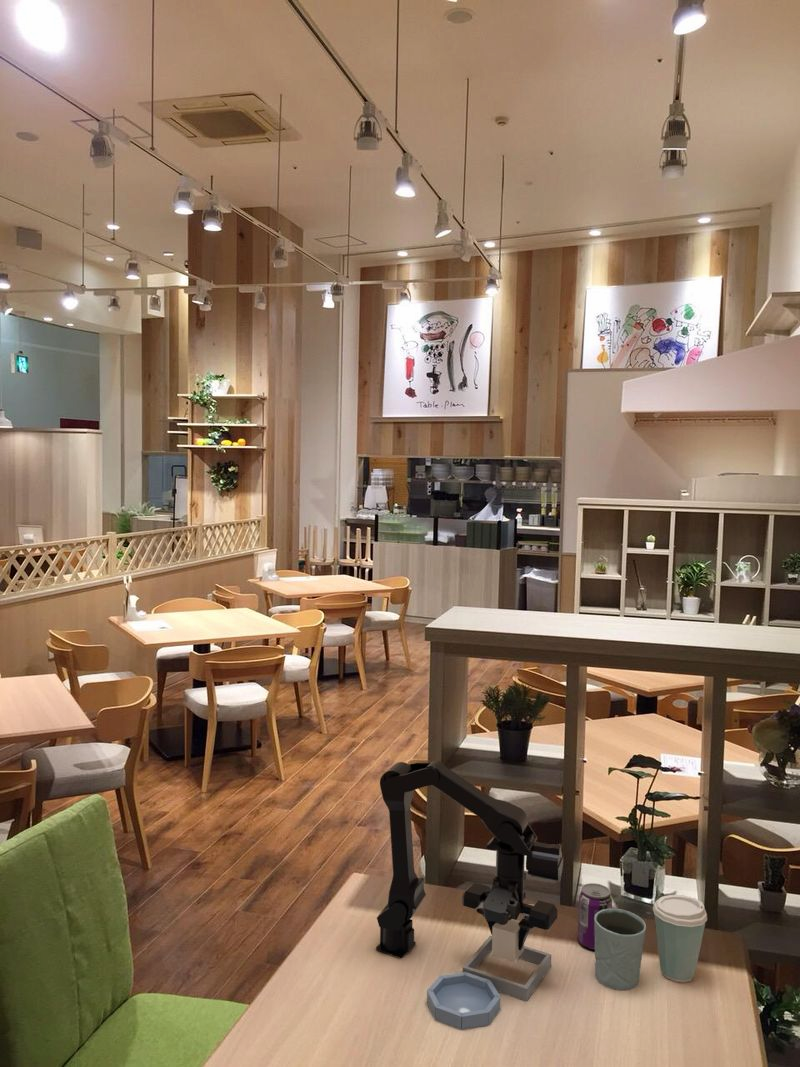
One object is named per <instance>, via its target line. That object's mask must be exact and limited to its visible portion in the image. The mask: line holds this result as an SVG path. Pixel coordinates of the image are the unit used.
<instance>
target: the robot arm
mask: <svg viewBox="0 0 800 1067" xmlns="http://www.w3.org/2000/svg"><path fill="white" fill-rule="evenodd" d="M429 786H433V787H434V788H436V789H437V790H438V791H440V792H442V793H443V794H444V795H446V796H448V797H449V798H450V799H451V800H453V801H455V802H456V803H458V804H459V805H461V806H462V807H463V808H465V809H466V810H468V811H469V812H471V814H474V815H475V816H476V817H478V818H479V819H480V820H481V821H482V822H483V824H484V825H485V828H486V829H487V830H488V831H489V832H490V833H491V835H493V837H491V838H490V840H488V842H487V844H486V845H485V847H486V849H488V850H493V851H495V853H496V854H495V855H496V856H495V877H494V878H492V880H493V881H492V886H491V888H490V886H488V885H486V884H481V883H478V882H473V883H472V884H471V885H470V886H469V887H467V889H466V890H464V892H463V893H462V896H461V897H462V898H461V900H462V902H461V905H462V906H464V907H467V908H468V909H469V908H470V909H473V910H476V913H477V914H480V915H481V916H483V917H484V919H485V920H486V923H487V926H488V929H489V931H490V934H491V935H492V927H493V925H494V924H495V923H498V924H500V925H505V924H507V923H508V920H511V919H514V920H518V918H519V916H520V914H522V919H521V920H519V921H520V922H519V923H518V925H519V927H520V932H519V942H518V947H519V950H521V949H522V948H523V945H524V946H525V943H526V940H527V938H528V937H529V933H530V931H531V929H534V928H537V929H542V930H544V931H546V930H549V929H550V928H551V926H552V925H553V924H554V923H555V922H556V920H557V919H558V909H557V907H556V905H555V904H554V903H551V902H548V901H547V902H546V901H542V900H540V899H539V900H537V901H536V902H535V904H533V903H529V904H527V903H525V902H524V900H525V899H526V892H524V891H525V889H524V888H525V880H526V879H527V875H528V876H529V875H530V877H531V878H537V879H538V878H539V879H543V880H549V881H553V882H554V881H555V882H560V881H561V879H562V874H563V867H564V857H563V853H562V845H561V844H556V843H553V844H550V843H544V842H537V840H538V836H537V835H536V833H535V831H534V830H533V828H532V827H531V825H530V824H529V820H528V817H527V813H526V812H525V811H524V810H523V809H522V807H519V806H518V805H515V804H513V803H511V802H508V801H506V800H501V799H497V798H494V797H492V796H490V795H489V794H487V793H486V792H485V791H482V790H481V789H479V788H478V787H476V785H473V783H471V782H469V781H467V780H466V779H464V777H462V776H460V775H459V774H458V773H456V772H454V771H453V770H451V769H450V768H448V767H447V766H446V765H445V764H444V763H443V762H442V761H441V760H440V761H439V760H433V761H428V762H426V761H425V762H424V761H422V762H421V761H419V762H413V763H407V762H403V761H400V762H399V761H398V762H395V763H394V764H393V765H392V766H391V767H389V769H388V770H386V771H385V772H384V773H383V774H382V775H381V777H380V778H379V788H380V792H381V795H382V800H383V802H384V803H385V805H386V807H387V809H388V815H389V831H390V832H389V833H390V848H391V849H390V850H391V862H392V879H391V884H390V887H389V891H388V900H387V903H386V904H385V906H384V908H383V909H382V910H381V912H380V913H379V914H378V915H377V916H376V920H377V923H378V924H377V925H378V927H379V944H378V945H376V947H375V950H376V951H378V952H381V953H384V954H387V955H390V956H393V957H395V958H399V959H403V958H404V957H406V955H407V954H408V953H409V952H410V951H411V950H412V949H413V948H414V947H415V946H416V944H417V942H416V941H415V927H413V921H414V919H411V918H413V916H414V914H415V913H417V910H418V909H419V908H420V906H421V905H422V903H423V900H424V898H425V897H426V895H427V893H426V892H425V877H418V875H417V872H415V863H414V846H413V832H412V831H413V829H412V828H413V827H412V814H411V813H412V812H411V811H412V810H411V806H412V805H411V804H412V801H413V796H414V793H415V790H418V789H421V788H425V787H429ZM525 856H526V857H525ZM525 869H526V871H527V872H525Z"/></svg>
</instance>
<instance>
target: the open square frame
mask: <svg viewBox="0 0 800 1067" xmlns="http://www.w3.org/2000/svg"><path fill="white" fill-rule="evenodd" d="M490 952H492V935H489V936H488V938H486V939H485V941H484V942H483V943H482V944H481V945H480V947H478V949H477V950H476V951H475V953H473V954H472V955H471V957H470V958H469V959H468V961H466V963H465V964H464V965H463V966H462V971H461V973H462V972H465V973H466V972H467V973H470V974H473V975H476V976H479V977H482V978H485V979H488V980H490V981H491V982H492V984H493V985H494V987H495V989H496V990H497V992H498V993H501V994H503V995H507V996H509V997H513V998H516V999H518V1000H522V1001H524V1002H528V1000H529V999H530V997H531V996H532V995H533V994H534V992H535V991H536V989H537V987H538V986H539V984H540V983H541V981H543V979H544V977H545V976H546V974H547V973H548V971H549V970H550V968H551V967H552V953H549V952H544V951H542V950H539V949H535V948H533V947H532V948H531V947H528V946H525V945H524V951H523V953H522V954H521V955H520V956H519V958H518V959H521V960H524V961H527V962H530V963H533V964H537V965H538V966H537V967H536V969H535V970H534V972H533V973H532V975H531V976H530V977H529V979H528V980H527V981H526V983H525V985H524V984H522V983H518V982H515V981H512V980H509V979H506V978H503V977H501V976H497V975H494V974H491V973H488V972H485V971H483V970H479V969H477V968H478V966H479V965H480V964H482V962H483V961H484V960H485V958H486V957H487V956H489V954H490Z"/></svg>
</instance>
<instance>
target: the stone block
mask: <svg viewBox="0 0 800 1067" xmlns="http://www.w3.org/2000/svg"><path fill="white" fill-rule="evenodd" d="M520 921H521V920H519V919H517V920H514V919H511V920H508V923H507V924H505V925H500V924H498V923H495V924H494V925H493V927H492V934H491V936H492V950H491V956H492V957H496V958H499V959H501V960H505V961H508V962H512V963H516V961H517V960H518V959H520V958H519V956H520V955H521V954H522V953H523V951H524V946H525V944H524V945H523V948H522V949H521V950H519V947H518V942H519V932H520V927H519V925H518V923H519V922H520Z"/></svg>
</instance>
